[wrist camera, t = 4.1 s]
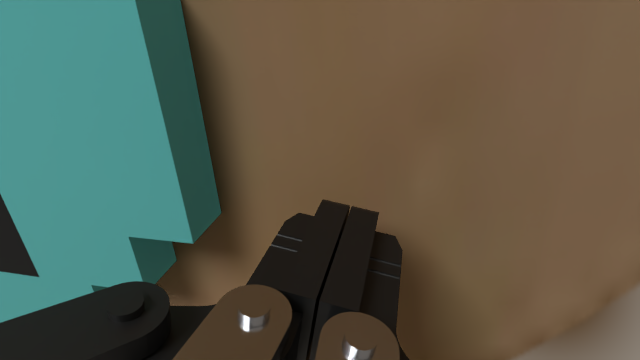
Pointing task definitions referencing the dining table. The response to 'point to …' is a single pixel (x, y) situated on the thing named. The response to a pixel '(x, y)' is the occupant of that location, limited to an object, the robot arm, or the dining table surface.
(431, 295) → the dining table surface
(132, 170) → the alien figure
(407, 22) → the dining table surface
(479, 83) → the dining table surface
